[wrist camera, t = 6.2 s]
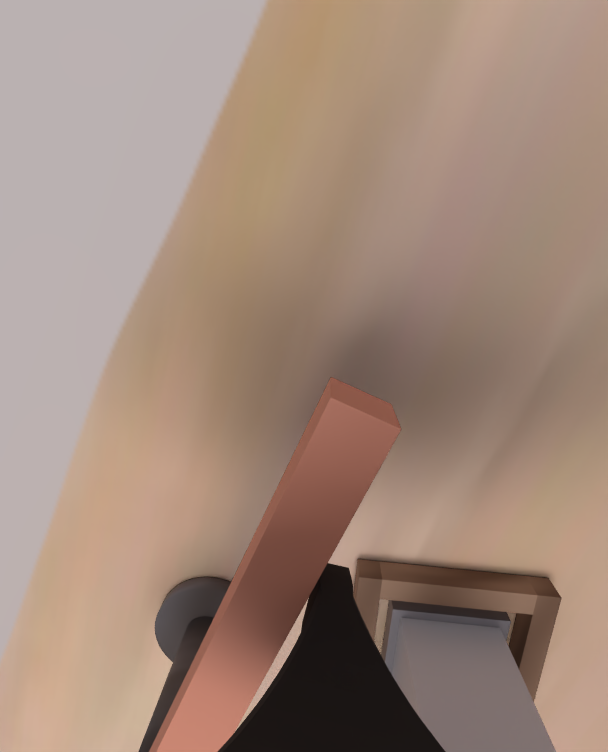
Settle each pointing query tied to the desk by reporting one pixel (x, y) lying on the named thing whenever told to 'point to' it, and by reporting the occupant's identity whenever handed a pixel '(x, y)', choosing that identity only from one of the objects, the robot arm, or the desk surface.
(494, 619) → the grey plug
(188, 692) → the salmon pink long bar
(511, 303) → the desk surface
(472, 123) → the desk surface
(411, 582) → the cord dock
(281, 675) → the robot arm
